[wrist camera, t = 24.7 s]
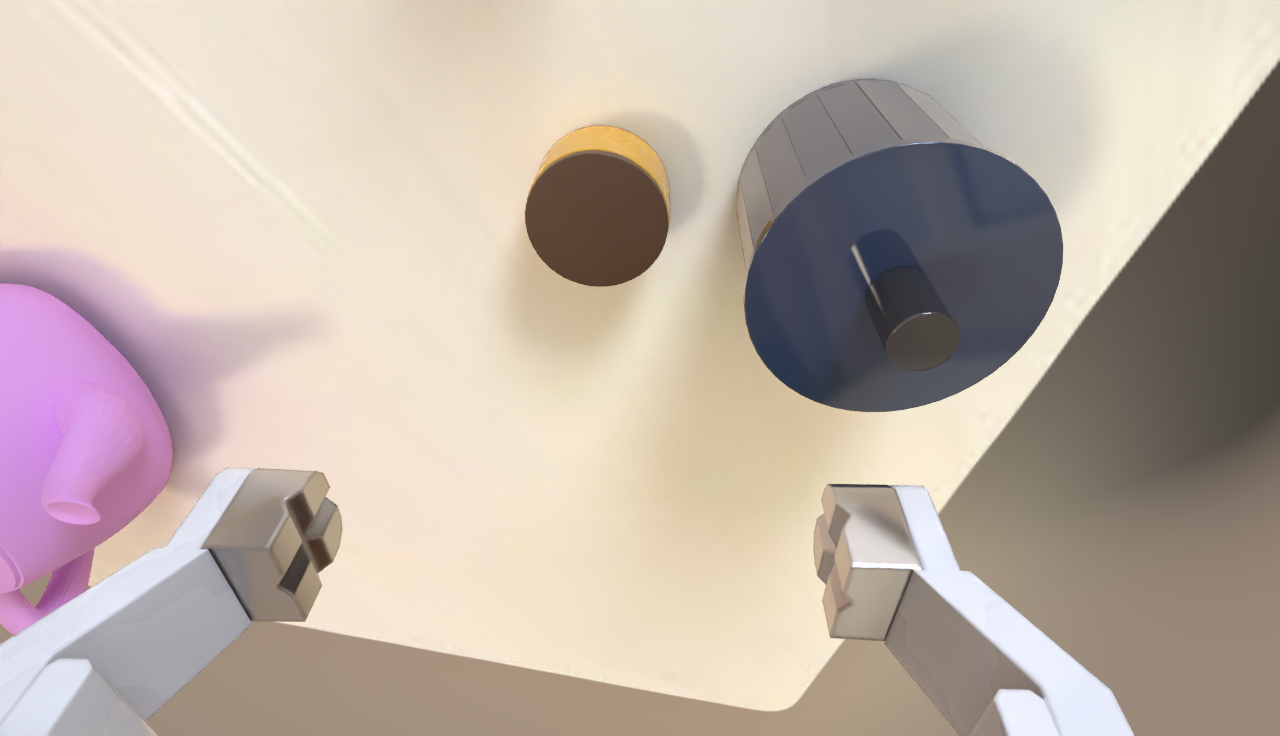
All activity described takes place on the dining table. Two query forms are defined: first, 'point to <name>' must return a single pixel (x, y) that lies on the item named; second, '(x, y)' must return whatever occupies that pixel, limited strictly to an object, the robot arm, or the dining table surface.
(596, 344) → the dining table surface
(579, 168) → the tin
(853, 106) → the pot
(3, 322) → the teapot
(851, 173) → the lid
